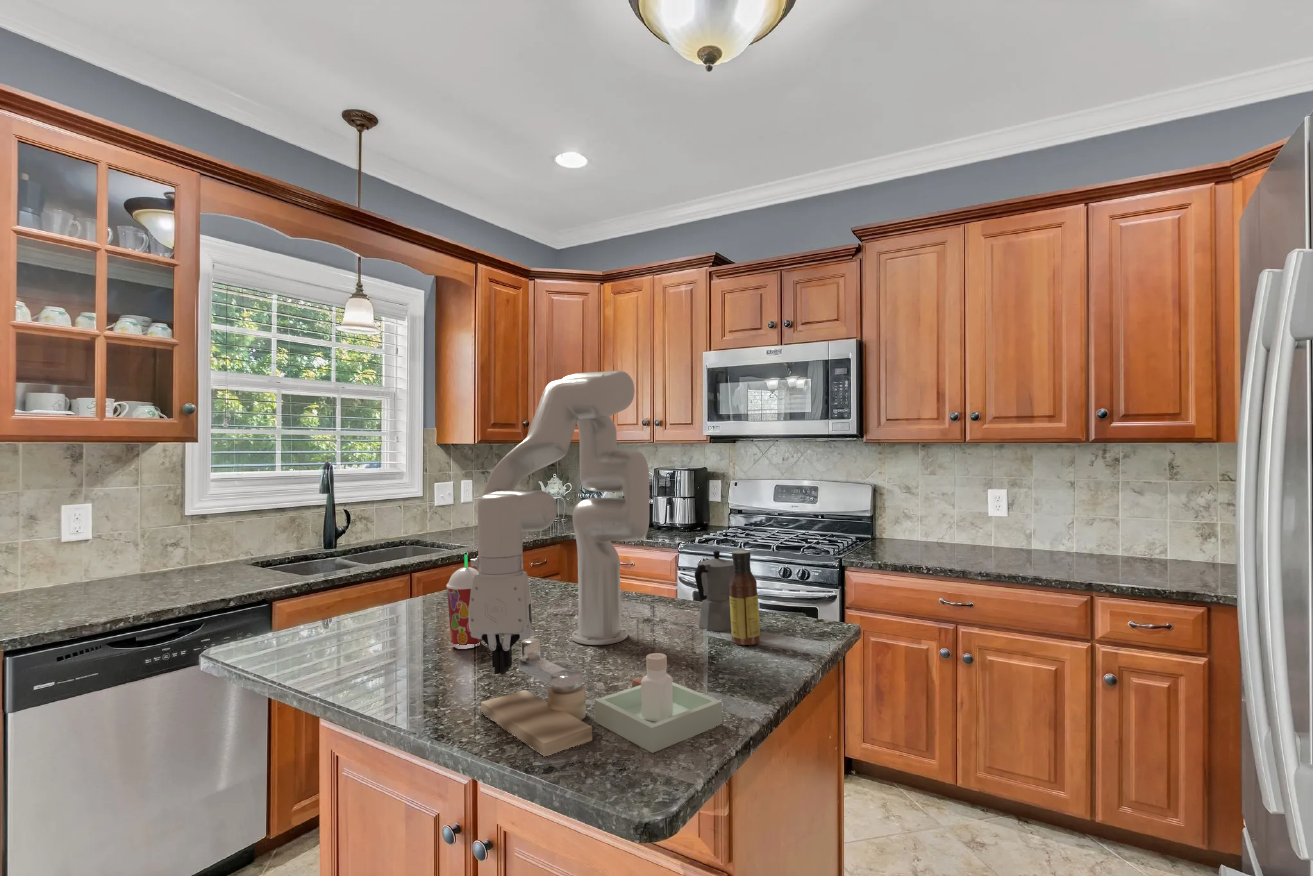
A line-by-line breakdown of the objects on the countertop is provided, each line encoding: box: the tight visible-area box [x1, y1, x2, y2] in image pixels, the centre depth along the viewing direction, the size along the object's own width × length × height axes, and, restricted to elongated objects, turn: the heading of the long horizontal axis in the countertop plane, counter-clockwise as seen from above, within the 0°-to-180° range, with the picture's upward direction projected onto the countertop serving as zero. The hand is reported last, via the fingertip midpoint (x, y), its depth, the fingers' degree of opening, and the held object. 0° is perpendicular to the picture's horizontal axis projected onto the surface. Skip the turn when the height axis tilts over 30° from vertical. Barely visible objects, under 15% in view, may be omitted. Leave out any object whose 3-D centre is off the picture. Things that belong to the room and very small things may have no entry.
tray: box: [594, 681, 723, 754], centre depth 101 cm, size 14×14×4 cm
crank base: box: [480, 676, 644, 756], centre depth 106 cm, size 20×27×4 cm
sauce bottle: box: [729, 549, 761, 646], centre depth 142 cm, size 7×6×20 cm
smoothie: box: [446, 554, 483, 645], centre depth 143 cm, size 8×8×20 cm
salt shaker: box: [641, 652, 673, 722], centre depth 101 cm, size 4×4×10 cm
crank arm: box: [518, 637, 583, 694], centre depth 108 cm, size 16×5×5 cm, turn 40°
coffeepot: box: [694, 550, 733, 632], centre depth 154 cm, size 15×9×18 cm, turn 142°
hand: (502, 671), depth 112 cm, fingers closed
